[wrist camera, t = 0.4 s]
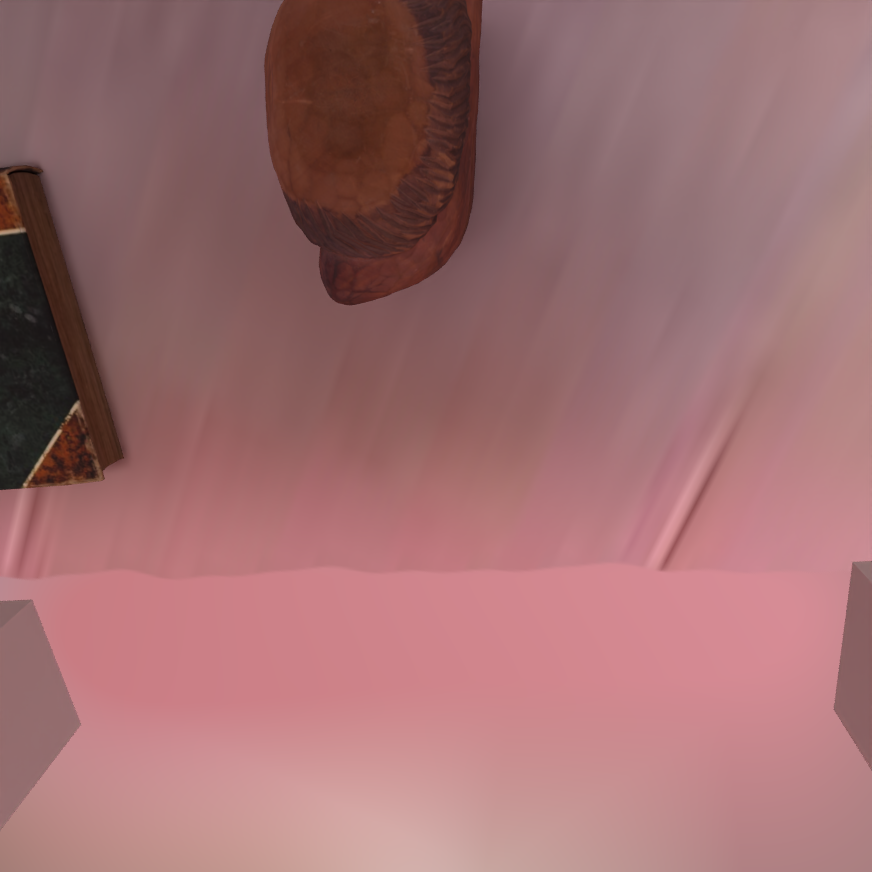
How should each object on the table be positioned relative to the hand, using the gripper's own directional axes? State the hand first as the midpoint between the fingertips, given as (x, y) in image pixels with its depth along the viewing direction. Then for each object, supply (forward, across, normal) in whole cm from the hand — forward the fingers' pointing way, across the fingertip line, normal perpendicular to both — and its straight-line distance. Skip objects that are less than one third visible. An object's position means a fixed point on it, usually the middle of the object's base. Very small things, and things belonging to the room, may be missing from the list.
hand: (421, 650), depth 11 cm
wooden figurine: (+28, -2, +9) cm, 29 cm away
